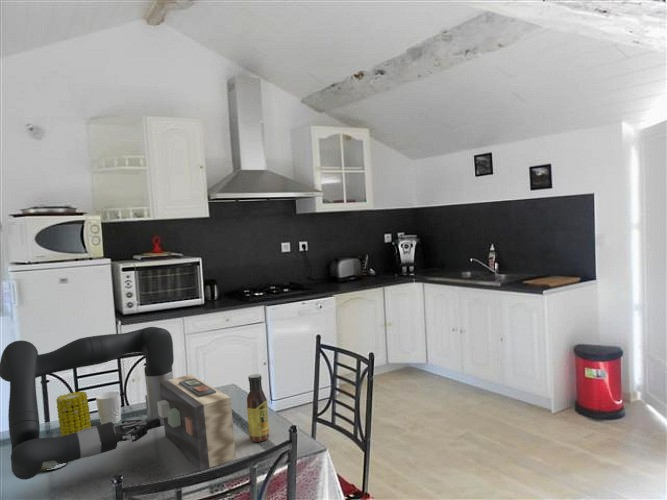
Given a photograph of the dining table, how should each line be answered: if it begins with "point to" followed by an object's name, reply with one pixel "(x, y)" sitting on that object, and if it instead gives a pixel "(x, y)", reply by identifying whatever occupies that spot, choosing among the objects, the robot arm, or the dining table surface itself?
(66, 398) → the food
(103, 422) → the white cup
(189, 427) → the terracotta key
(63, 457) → the robot arm
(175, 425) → the sage key
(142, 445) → the dining table surface
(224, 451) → the keypad
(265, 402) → the sauce bottle
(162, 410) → the ivory key
